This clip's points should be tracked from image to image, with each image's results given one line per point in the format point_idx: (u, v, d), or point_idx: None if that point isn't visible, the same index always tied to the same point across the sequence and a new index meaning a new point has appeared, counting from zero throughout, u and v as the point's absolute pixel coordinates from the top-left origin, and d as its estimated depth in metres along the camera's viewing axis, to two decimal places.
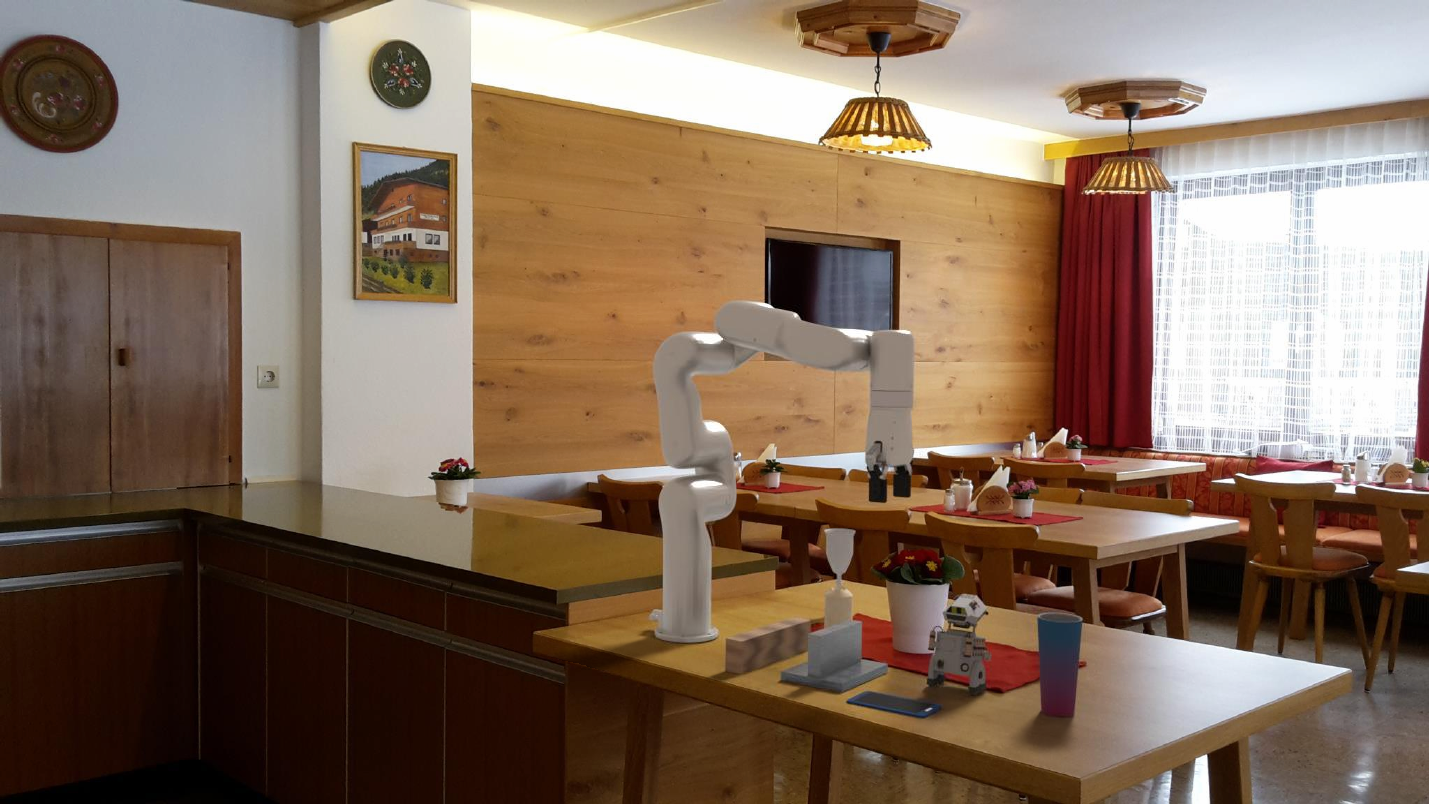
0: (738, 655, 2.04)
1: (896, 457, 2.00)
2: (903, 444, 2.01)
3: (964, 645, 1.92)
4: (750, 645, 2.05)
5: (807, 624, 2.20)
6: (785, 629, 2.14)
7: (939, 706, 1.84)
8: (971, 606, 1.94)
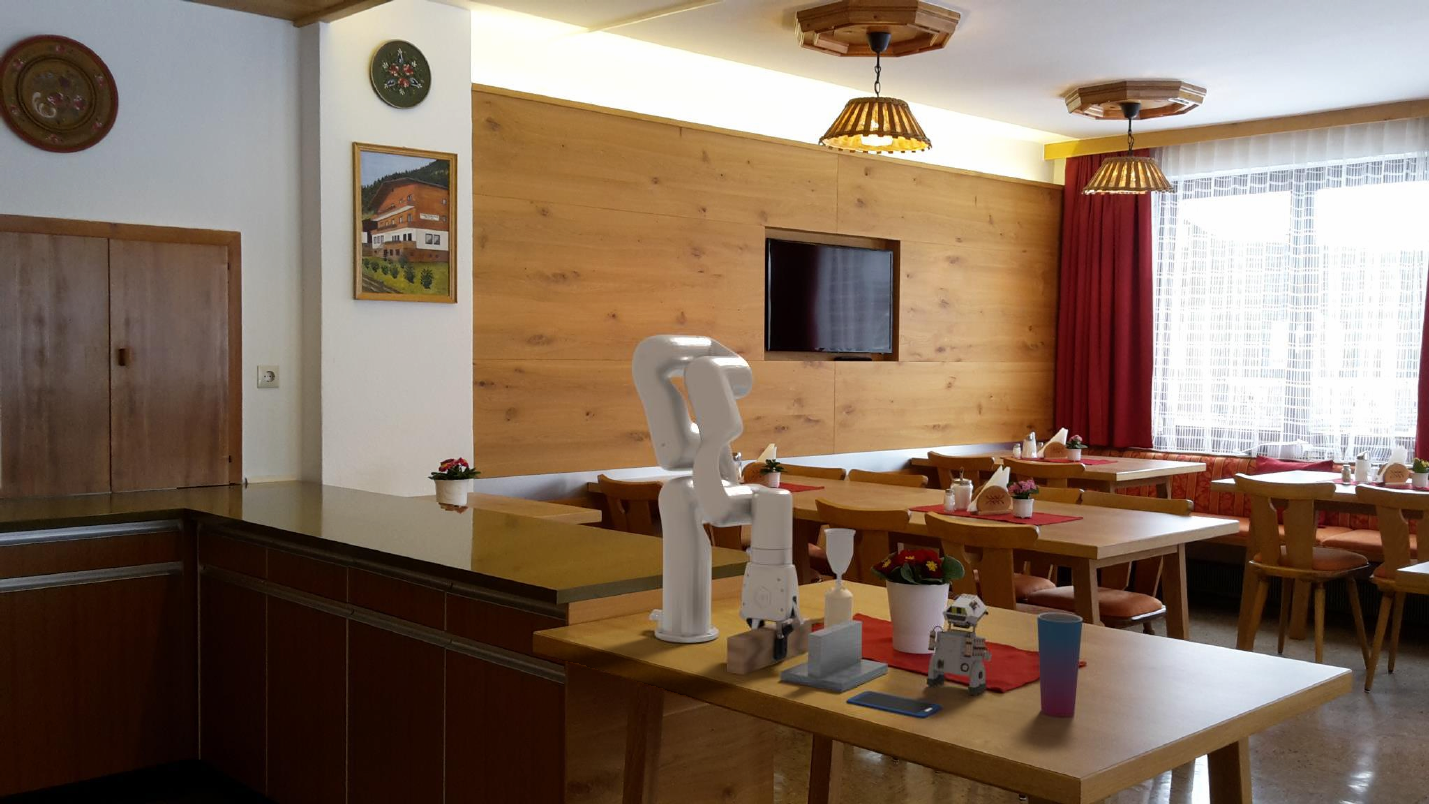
0: (740, 654, 2.03)
1: None
2: None
3: (964, 645, 1.92)
4: (752, 644, 2.05)
5: (808, 623, 2.20)
6: None
7: (939, 706, 1.84)
8: (971, 606, 1.94)
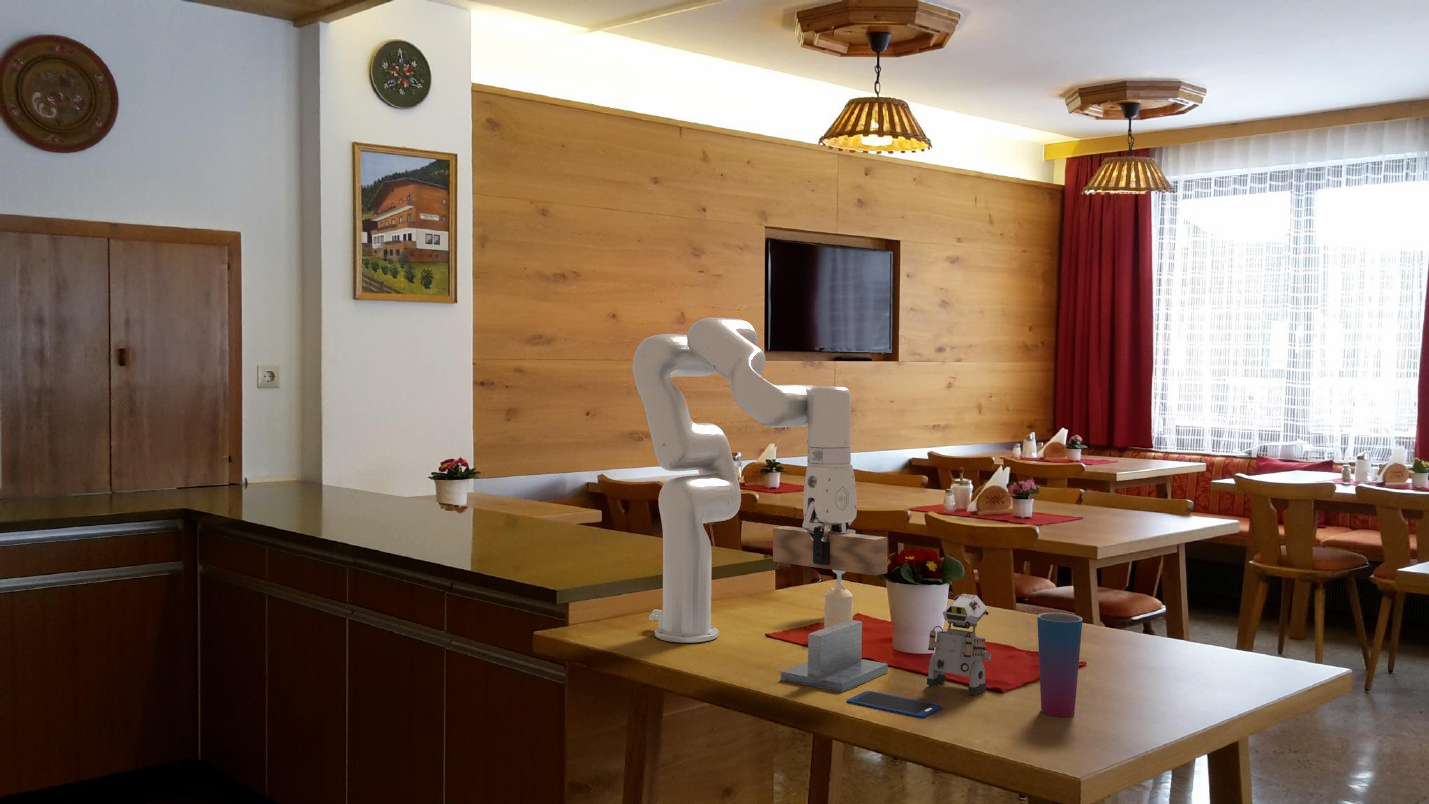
0: (885, 553, 1.96)
1: None
2: None
3: (964, 645, 1.92)
4: None
5: None
6: None
7: (939, 706, 1.84)
8: (971, 606, 1.94)
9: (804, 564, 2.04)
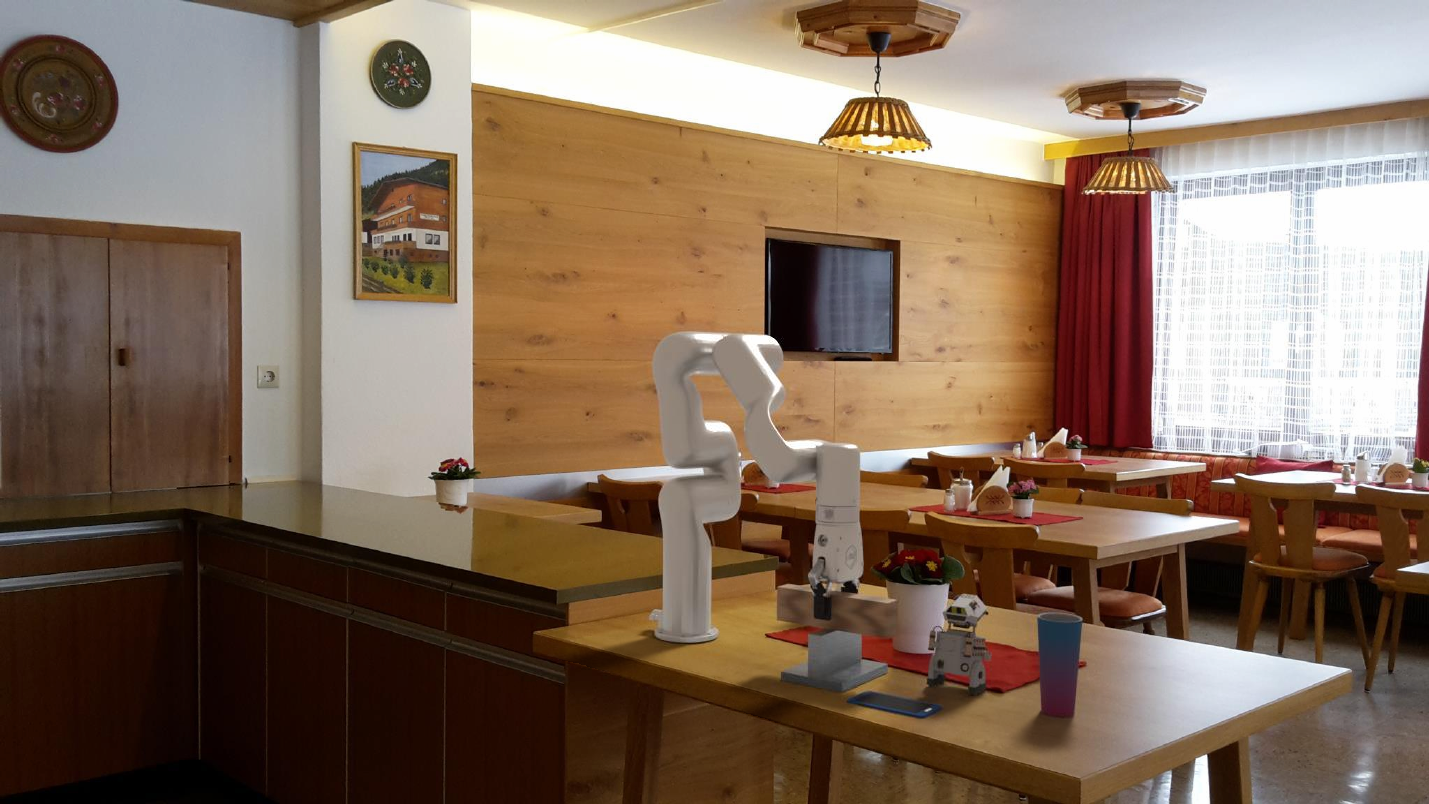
0: (895, 615, 1.97)
1: None
2: None
3: (964, 645, 1.92)
4: None
5: None
6: None
7: (939, 707, 1.84)
8: (971, 606, 1.94)
9: (810, 624, 2.03)
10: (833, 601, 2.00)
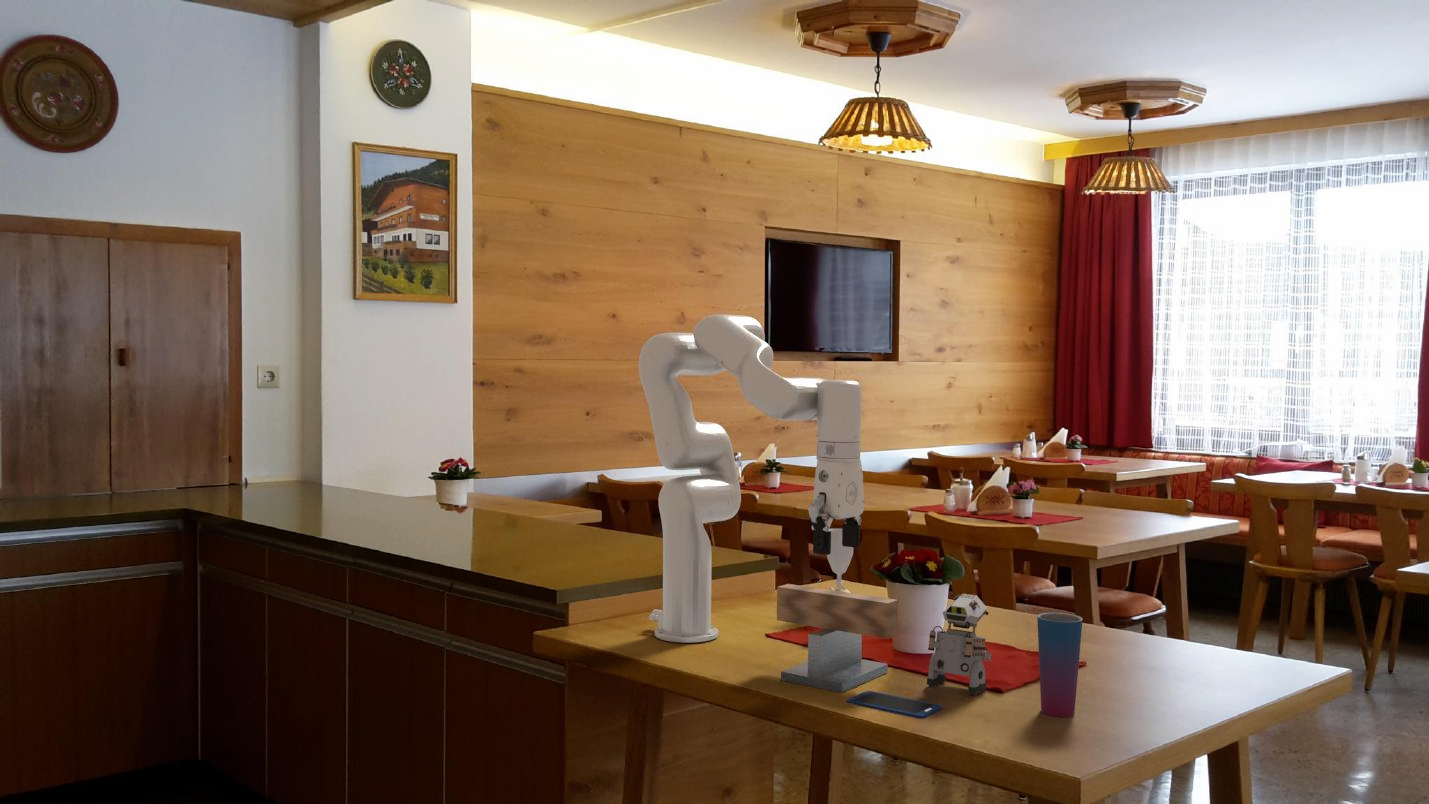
0: (895, 615, 1.97)
1: None
2: None
3: (964, 645, 1.92)
4: None
5: None
6: (829, 591, 2.05)
7: (939, 706, 1.84)
8: (971, 606, 1.94)
9: (810, 624, 2.03)
10: (833, 601, 2.00)
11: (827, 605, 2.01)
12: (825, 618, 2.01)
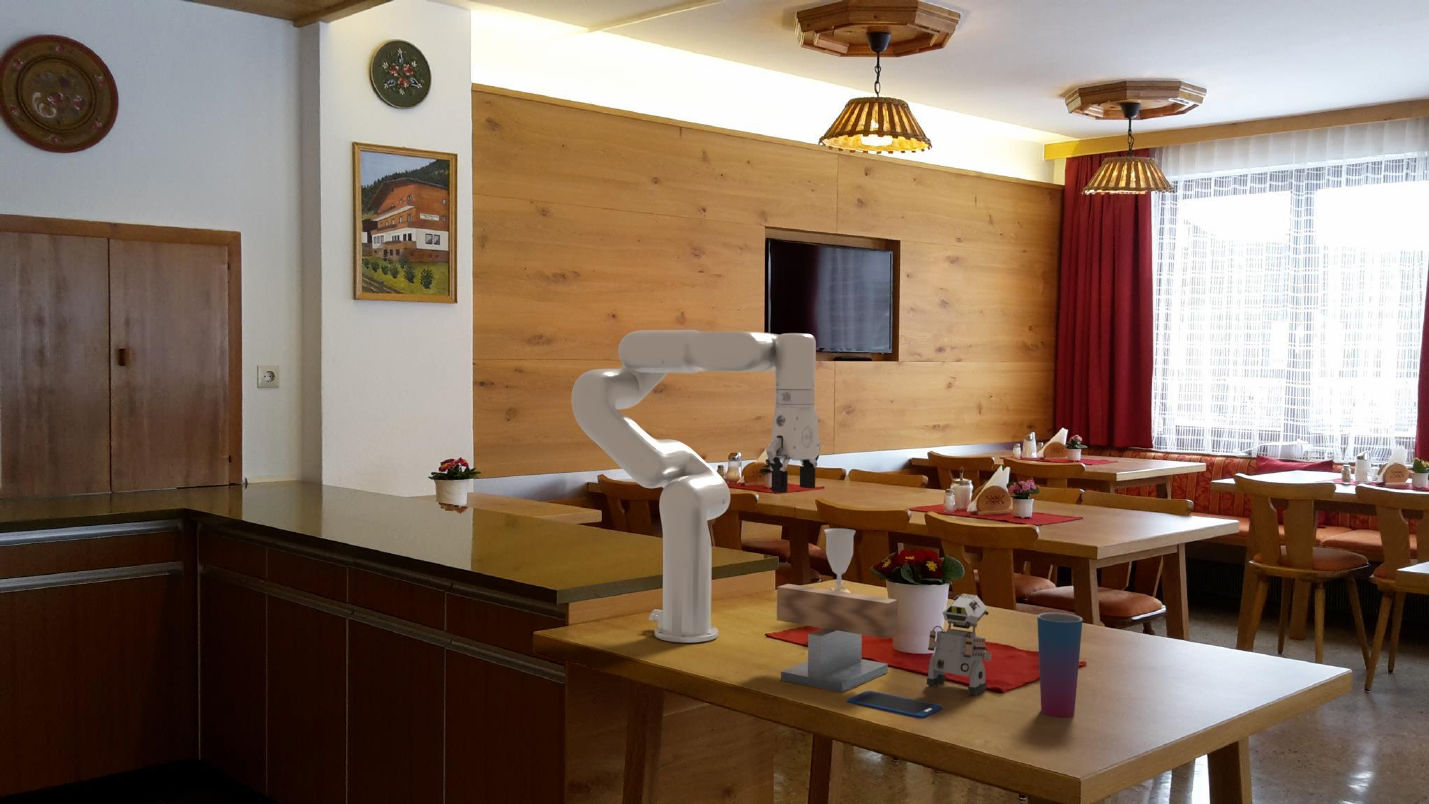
0: (895, 615, 1.97)
1: None
2: None
3: (964, 645, 1.92)
4: None
5: None
6: (829, 591, 2.05)
7: (939, 707, 1.84)
8: (971, 606, 1.94)
9: (810, 624, 2.03)
10: (833, 601, 2.00)
11: (827, 605, 2.01)
12: (825, 618, 2.01)
